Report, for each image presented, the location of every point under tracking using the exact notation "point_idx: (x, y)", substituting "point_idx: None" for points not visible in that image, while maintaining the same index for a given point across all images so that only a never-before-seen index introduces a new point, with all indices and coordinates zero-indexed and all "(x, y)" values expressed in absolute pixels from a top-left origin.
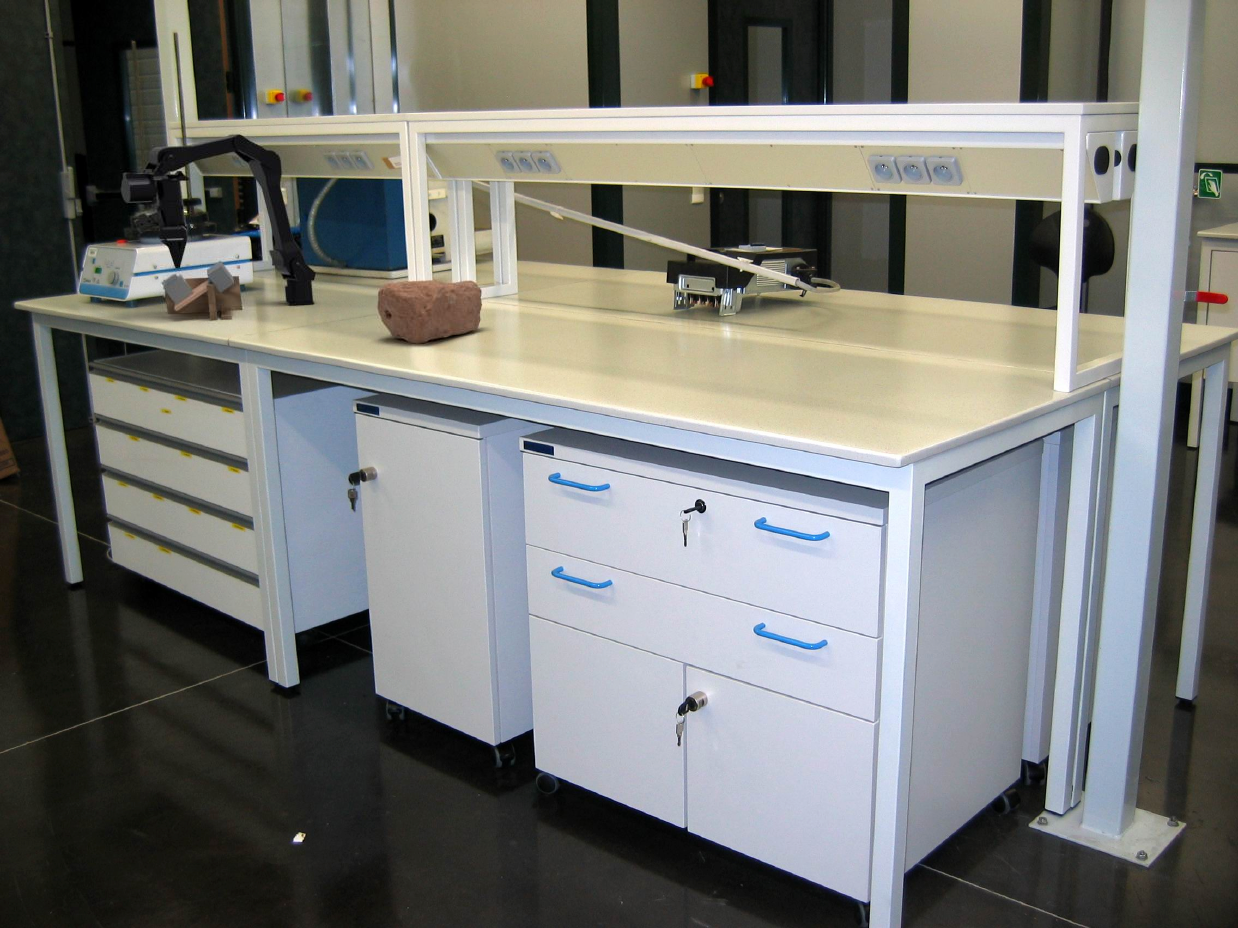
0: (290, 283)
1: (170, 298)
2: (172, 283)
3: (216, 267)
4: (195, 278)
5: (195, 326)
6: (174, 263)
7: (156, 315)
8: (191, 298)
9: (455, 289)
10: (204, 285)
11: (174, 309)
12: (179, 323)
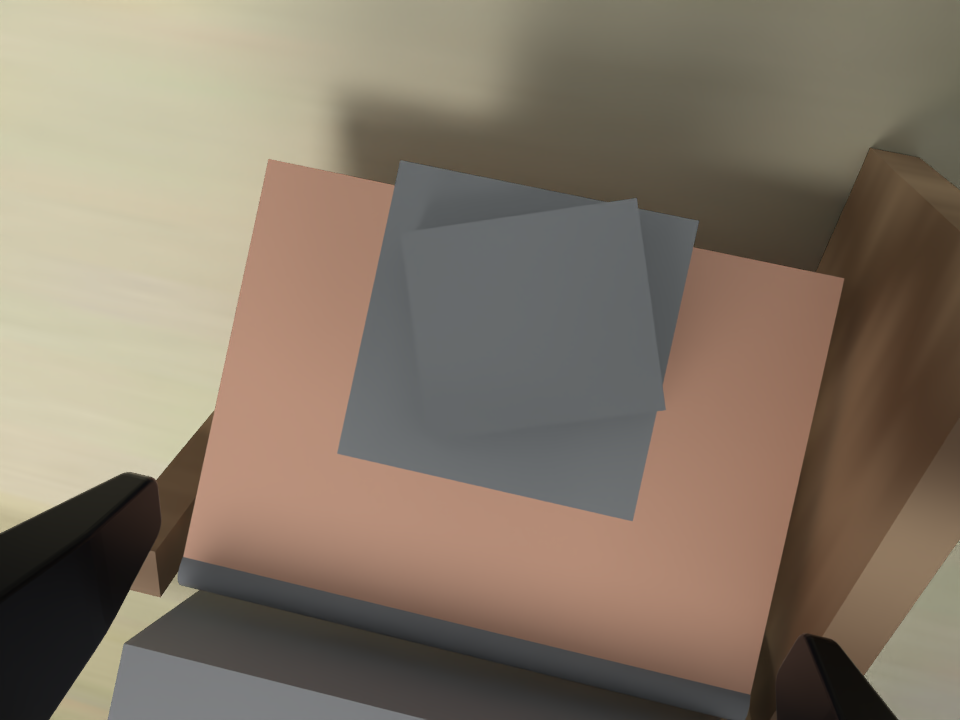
0: None
1: (898, 250)
2: (371, 306)
3: None
4: (841, 632)
5: (26, 213)
6: (44, 521)
7: (878, 27)
8: (231, 353)
9: None
10: (426, 570)
11: (851, 229)
12: (215, 137)
